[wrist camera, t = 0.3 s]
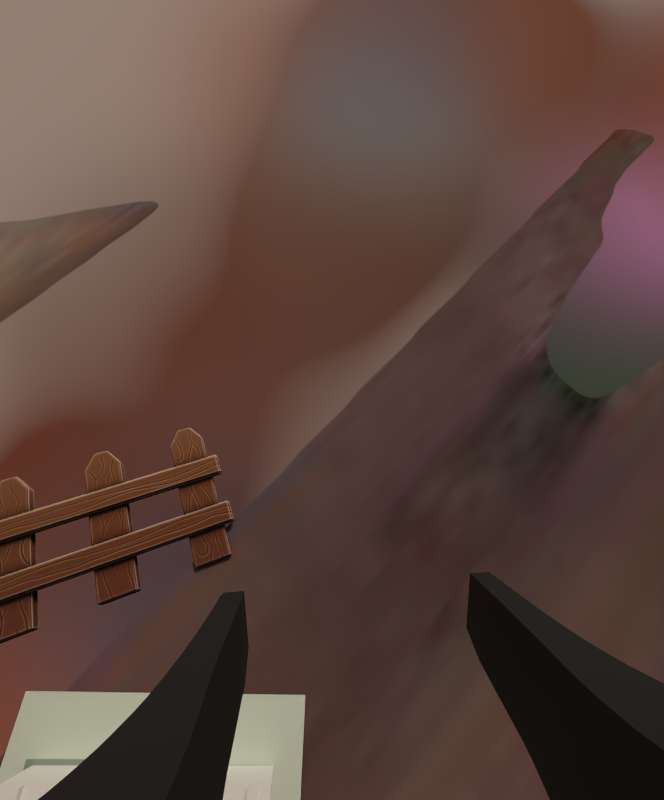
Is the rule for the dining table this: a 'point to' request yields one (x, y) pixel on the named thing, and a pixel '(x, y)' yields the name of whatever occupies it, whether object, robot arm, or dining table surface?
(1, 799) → the fence post and fixed panel
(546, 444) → the dining table surface
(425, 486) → the dining table surface
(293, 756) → the card
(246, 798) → the folding fence panel
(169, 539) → the decorative fence
